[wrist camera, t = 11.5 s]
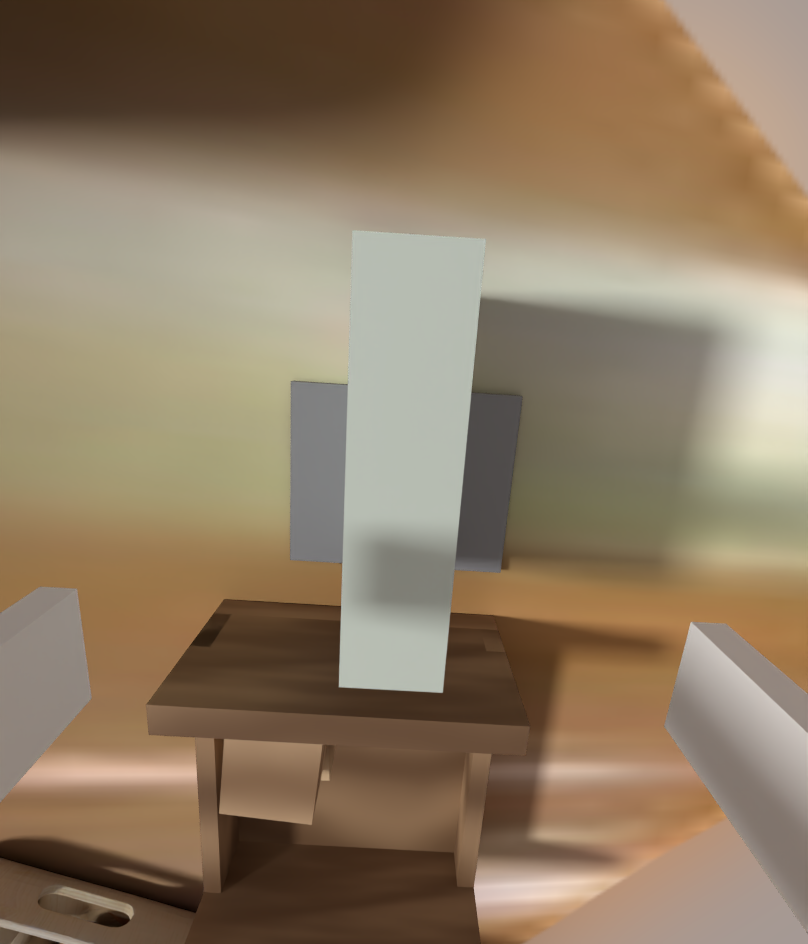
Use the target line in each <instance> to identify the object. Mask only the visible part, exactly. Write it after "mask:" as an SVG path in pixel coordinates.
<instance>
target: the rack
mask: <svg viewBox="0 0 808 944" xmlns="http://www.w3.org/2000/svg"><path fill="white" fill-rule="evenodd" d="M340 630H341V606H324V605H307V604H291V603H274V602H257V601H240V600H223V602H222V603H221V604H220V606H219V607H218V608H217V610H216V611H215V612H214V614H213V615H212V617H211V618H210V619H209V621H208V622H207V623H206V625H205V626H204V627H203V629H202V630H201V631H200V633H199V634H198V635H197V637H196V638H195V640H194V641H193V642H192V644H191V645H190V646H189V648H188V649H187V650H186V652H185V653H184V654H183V656H182V657H181V658H180V660H179V661H178V662H177V664H176V665H175V667H174V668H173V669H172V671H171V672H170V673H169V675H168V676H167V677H166V679H165V680H164V681H163V683H162V684H161V685H160V687H159V688H158V690H157V691H156V692H155V694H154V695H153V696H152V698H151V699H150V700H149V702H148V703H147V704H146V709H147V720H148V732H149V735H162V736H180V737H195V746H196V764H197V781H198V799H199V816H200V834H201V851H202V869H203V886H204V893H203V896H202V898H201V901H200V904H199V906H198V909H197V912H196V914H195V917H194V920H193V922H192V925H191V928H190V930H189V933H188V936H187V938H186V941H185V944H481V942H480V935H479V927H478V919H477V911H476V903H475V895H474V881H475V873H476V866H477V858H478V851H479V844H480V836H481V829H482V821H483V814H484V807H485V799H486V792H487V785H488V777H489V770H490V762H491V755H492V754H500V755H518V756H526V750H527V744H528V738H529V731H530V725H529V721H528V718H527V715H526V712H525V709H524V706H523V703H522V700H521V697H520V694H519V691H518V688H517V685H516V682H515V679H514V676H513V673H512V670H511V667H510V664H509V661H508V658H507V655H506V652H505V649H504V646H503V643H502V640H501V637H500V634H499V631H498V628H497V625H496V622H495V619H494V616H492V615H475V614H458V613H450V622H449V632H448V643H447V653H446V664H445V674H444V685H443V693H437V692H419V691H400V690H382V689H364V688H345V687H339V663H340ZM224 739H233V740H251V741H269V742H286V743H304V744H322V745H336V747H335V753H334V759H333V764H332V770H331V775H330V781H321V782H320V787H319V792H318V797H317V802H316V807H315V812H314V817H313V822H312V825H308V824H300V823H292V822H284V821H275V820H267V819H259V818H251V817H243V816H235V815H226V814H219V807H220V793H221V778H222V763H223V749H224Z"/></svg>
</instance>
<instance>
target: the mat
mask: <svg viewBox="0 0 808 944" xmlns="http://www.w3.org/2000/svg"><path fill="white" fill-rule="evenodd" d="M347 397H348V385H347V384H332V383H317V382H301V381H291V498H290V560H300V561H316V562H333V563H343V530H344V497H345V464H346V430H347ZM522 397H523V396H516V395H500V394H485V393H471V401H470V412H469V422H468V433H467V443H466V454H465V464H464V475H463V485H462V496H461V506H460V517H459V527H458V538H457V548H456V559H455V569H454V570H465V571H481V572H497V573H500V572H501V564H502V556H503V548H504V540H505V532H506V524H507V516H508V508H509V500H510V492H511V484H512V476H513V468H514V461H515V453H516V445H517V437H518V429H519V421H520V413H521V405H522Z"/></svg>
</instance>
